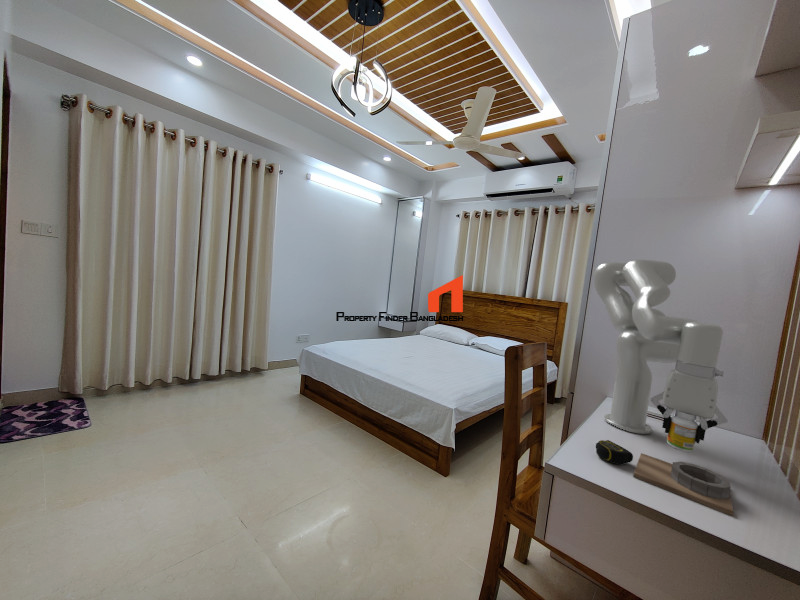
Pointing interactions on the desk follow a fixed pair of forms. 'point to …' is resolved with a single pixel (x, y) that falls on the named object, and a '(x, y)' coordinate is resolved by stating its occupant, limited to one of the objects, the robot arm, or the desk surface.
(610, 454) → the tape measure
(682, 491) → the holder
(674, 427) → the supplement bottle
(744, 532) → the desk surface
